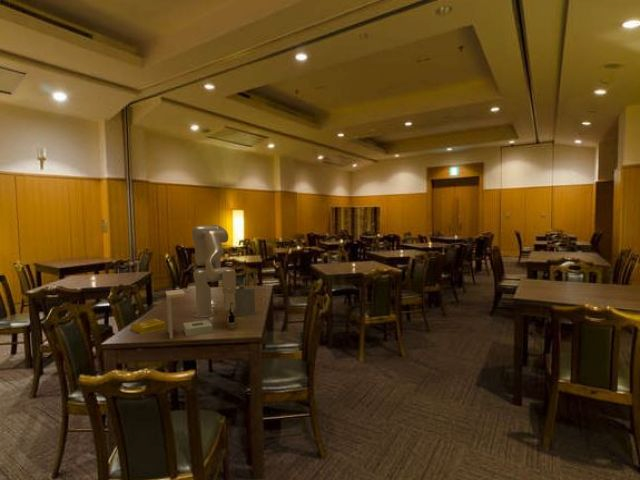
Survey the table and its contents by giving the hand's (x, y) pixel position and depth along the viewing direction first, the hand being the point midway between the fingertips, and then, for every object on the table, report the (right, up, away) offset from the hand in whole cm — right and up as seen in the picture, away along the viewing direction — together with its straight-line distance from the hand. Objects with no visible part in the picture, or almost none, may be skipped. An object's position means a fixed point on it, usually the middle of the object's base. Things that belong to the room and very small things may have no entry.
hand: (230, 321), depth 221 cm
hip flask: (+2, -3, +27) cm, 28 cm away
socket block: (-21, -5, -7) cm, 23 cm away
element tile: (-49, -6, +2) cm, 49 cm away
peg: (0, -4, 0) cm, 4 cm away
